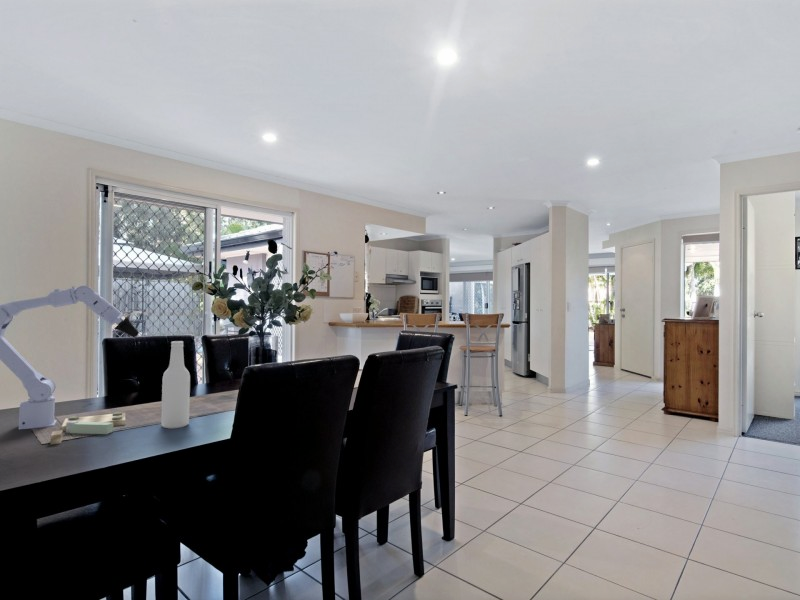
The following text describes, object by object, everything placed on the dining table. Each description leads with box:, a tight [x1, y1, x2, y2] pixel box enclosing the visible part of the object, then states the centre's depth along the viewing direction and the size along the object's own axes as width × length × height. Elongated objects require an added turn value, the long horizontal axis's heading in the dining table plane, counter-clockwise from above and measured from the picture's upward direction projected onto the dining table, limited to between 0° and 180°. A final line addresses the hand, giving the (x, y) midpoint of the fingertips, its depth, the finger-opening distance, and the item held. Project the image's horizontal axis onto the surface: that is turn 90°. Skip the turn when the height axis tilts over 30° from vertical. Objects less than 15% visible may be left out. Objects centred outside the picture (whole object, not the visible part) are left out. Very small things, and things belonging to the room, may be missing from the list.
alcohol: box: [160, 340, 191, 430], centre depth 155 cm, size 9×9×30 cm
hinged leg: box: [65, 421, 114, 435], centre depth 144 cm, size 15×3×3 cm, turn 88°
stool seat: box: [49, 411, 127, 446], centre depth 147 cm, size 19×27×3 cm
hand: (136, 335), depth 167 cm, fingers open, 7 cm apart
